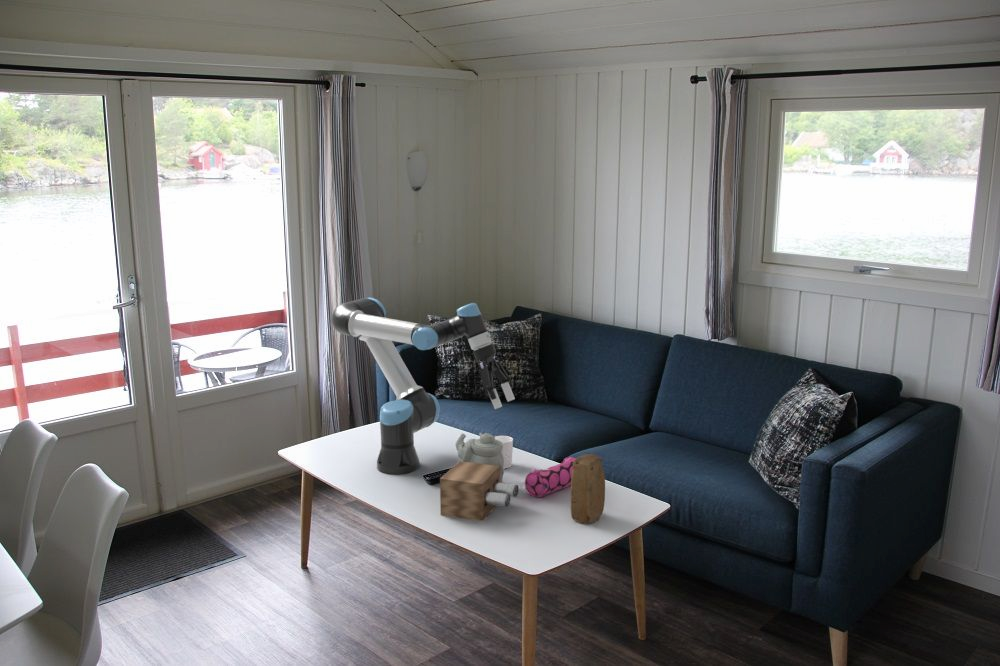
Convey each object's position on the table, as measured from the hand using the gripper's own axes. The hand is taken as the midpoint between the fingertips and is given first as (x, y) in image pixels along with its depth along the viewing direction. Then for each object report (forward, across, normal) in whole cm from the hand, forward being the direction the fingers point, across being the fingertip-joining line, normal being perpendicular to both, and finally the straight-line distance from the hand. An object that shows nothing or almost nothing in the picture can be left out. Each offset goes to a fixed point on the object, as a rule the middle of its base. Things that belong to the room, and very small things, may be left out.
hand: (505, 404), depth 298 cm
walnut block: (+25, -30, +12) cm, 41 cm away
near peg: (+25, -34, +4) cm, 42 cm away
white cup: (+21, +9, +13) cm, 27 cm away
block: (+40, -25, -22) cm, 52 cm away
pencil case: (+32, -6, -8) cm, 34 cm away
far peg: (+24, -26, +4) cm, 36 cm away
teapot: (+22, -9, +16) cm, 28 cm away
